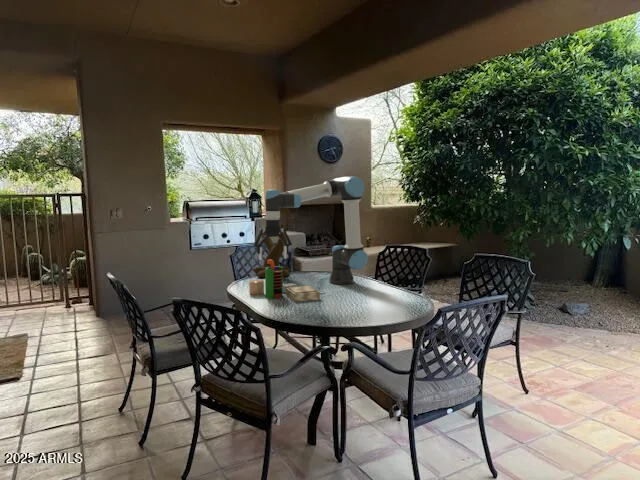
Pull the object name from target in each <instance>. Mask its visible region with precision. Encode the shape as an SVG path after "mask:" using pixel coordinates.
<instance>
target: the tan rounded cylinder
mask: <svg viewBox="0 0 640 480" xmlns="http://www.w3.org/2000/svg"><path fill="white" fill-rule="evenodd" d="M248 284H249V285H248V286H249V287H248V288H249V291H248V293H249V295H250V296H255V297H256V296H262V295H264V294H265V281H264V280H262V279H253V280H252V279H251V280H249V283H248Z"/></svg>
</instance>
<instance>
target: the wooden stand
mask: <svg viewBox="0 0 640 480" xmlns="http://www.w3.org/2000/svg"><path fill="white" fill-rule="evenodd" d="M282 228H286V227H285V224H284V223H280V229H282ZM279 234H280V235H281V237H282V238H283V239H284V240H285V241H286V242H287V240H286V238H285V236H284V234H283V232H282V231H280V233H279ZM265 235H266V232H265V231H264V233H262V236H261V240H262V239H263V237H264V236H265ZM287 243H288V242H287ZM263 244H264V245H265V247H266V249H267V251H268V254H267V256H266V257H265V258H264V262H263V266H257V267H255V268H253V272H254V273H256V276H257V278H262V279H265V268H266V267H271V264H267V260H273V261H274V266H278V267H283V276H284V277H283V278H286V277H290V276H291V273H290V271H291V270H290V268H289V267H287V266H284V265H283V266H282V265H281V266H280V263H279V262H280V258H282V256H283V255H284V246H285V245H284V243H283V242H282V241H281V240H280V239H279V238H278V239H277V241H276V244H275V243H274V242H273V240H272V237H268V238H267V239H266V240H265V242H264V243H263Z"/></svg>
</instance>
